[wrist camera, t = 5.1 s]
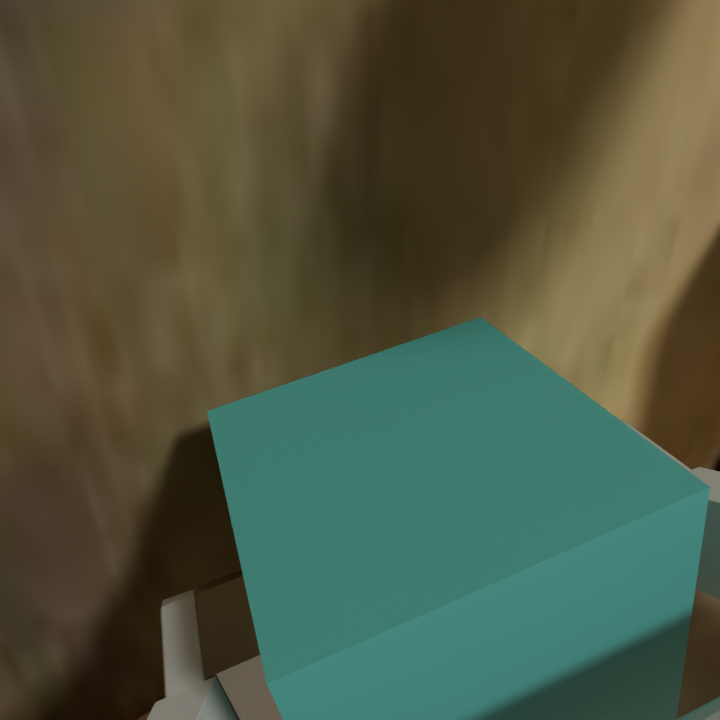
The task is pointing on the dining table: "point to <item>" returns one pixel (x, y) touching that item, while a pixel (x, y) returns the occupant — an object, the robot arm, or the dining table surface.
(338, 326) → the dining table surface
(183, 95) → the dining table surface
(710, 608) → the maple block
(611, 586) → the teal block
